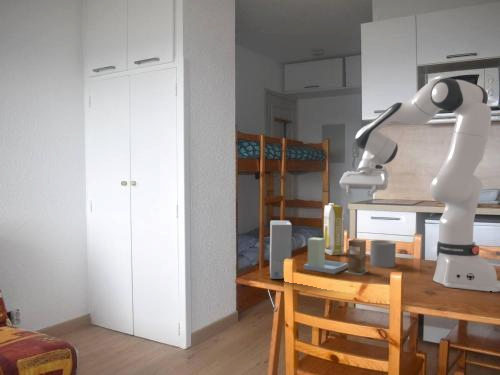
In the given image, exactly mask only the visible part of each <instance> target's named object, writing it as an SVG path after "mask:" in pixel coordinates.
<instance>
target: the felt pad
mask: <svg viewBox="0 0 500 375" xmlns="http://www.w3.org/2000/svg"><path fill="white" fill-rule="evenodd" d="M368 272H369V270H367V269H365V272H363V273H361V274H360V273H354V272H348V270H346V271H345V270H344V273H345V274H354V275H359V276H363V275H364V274H366V273H368Z"/></svg>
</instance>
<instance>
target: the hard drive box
mask: <svg viewBox="0 0 500 375" xmlns="http://www.w3.org/2000/svg"><path fill="white" fill-rule="evenodd" d="M269 224H270V227H269V228H270V229H269V230H270V232H269V233H270V235H269V238H270V239H269V274H270V275H269V276H270V279H271V280H272V279H273V280H274V279H276V280H280V279H281V280H284V279H283V261H284V259H286V258H291V259H292V245H293V244H292V242H293V241H292V238H293V235H292V234H293V231H292V230H293V229H292V228H293V225H292V223H291V222H290V220H270V223H269Z"/></svg>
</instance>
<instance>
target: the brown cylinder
mask: <svg viewBox="0 0 500 375" xmlns="http://www.w3.org/2000/svg"><path fill="white" fill-rule="evenodd" d="M347 250H348V255H347V258H348V261H347V263H348V268H347V269H348V272H354V273H360V274H361V273H363V272H365V270H366V264H367V263H366V262H367V261H366V257H367V256H366V255H367V240H365V239H359V238H358V239H356V238H354V239H350V240H348V249H347Z"/></svg>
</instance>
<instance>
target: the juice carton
mask: <svg viewBox="0 0 500 375" xmlns="http://www.w3.org/2000/svg"><path fill="white" fill-rule="evenodd" d="M323 238H325V254H327V255H330V256H343V255H344V249H345V245H344V244H345V206H344V205H343V206H341V205H337V204H335V203H334V202H332V203H331V202H330V203H328V204H327V205H324V210H323Z"/></svg>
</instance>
